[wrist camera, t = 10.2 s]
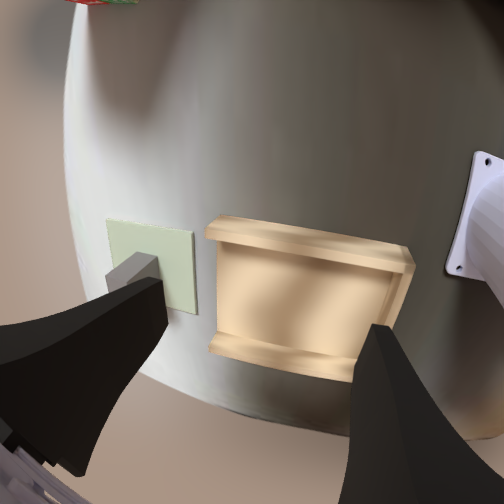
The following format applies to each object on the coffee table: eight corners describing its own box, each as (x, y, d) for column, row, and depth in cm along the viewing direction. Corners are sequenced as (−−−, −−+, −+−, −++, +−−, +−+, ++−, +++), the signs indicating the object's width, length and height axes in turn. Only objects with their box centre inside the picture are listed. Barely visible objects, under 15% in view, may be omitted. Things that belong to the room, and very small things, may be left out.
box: (407, 246, 16) (415, 265, 14) (364, 360, 21) (365, 384, 18) (220, 214, 19) (204, 228, 16) (220, 331, 23) (208, 351, 21)
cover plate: (196, 229, 20) (160, 260, 16) (199, 308, 23) (172, 347, 19) (111, 216, 22) (71, 239, 18) (123, 287, 25) (91, 316, 21)
